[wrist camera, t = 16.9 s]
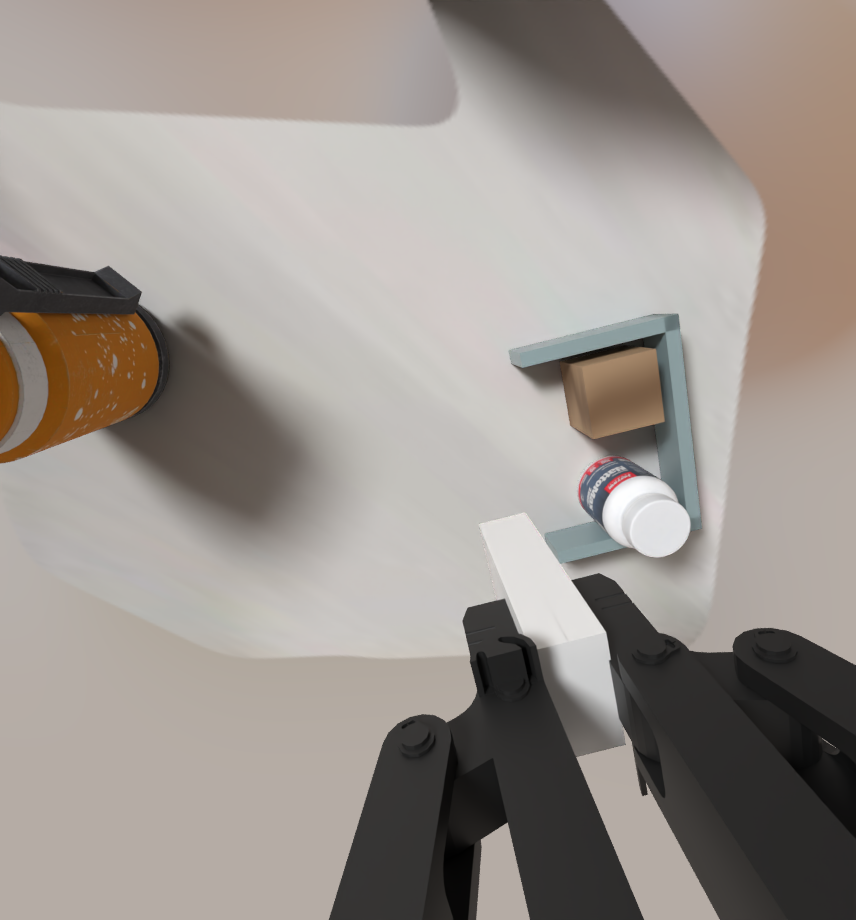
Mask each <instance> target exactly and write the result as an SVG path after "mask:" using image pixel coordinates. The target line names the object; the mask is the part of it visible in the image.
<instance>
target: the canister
mask: <svg viewBox="0 0 856 920" xmlns="http://www.w3.org/2000/svg"><path fill="white" fill-rule="evenodd" d="M141 293H142V292H141V291H140V290H139V289H137V288H136V287H135V286H134V285H132V284H131V283H130V282H128V281H127V280H126V279H125V278H123V277H122V276H121V275H120V274H118V273H117V272H116V271H114V270H113V269H112V268H111V267H109V266H107V267H105V268H103V269H100V270H98V271H96V272H89V271H83V270H76V269H70V268H64V267H57V266H51V265H45V264H38V263H32V262H25V261H23V260H22V259H19V258H16V259H15V258H13V257H7V256H1V255H0V463H6V462H12V461H15V460H18V459H21V458H24V457H27V456H29V455H32V454H35V453H37V452H40V451H43V450H45V449H48V448H51V447H53V446H56V445H59V444H61V443H64V442H67V441H69V440H72V439H75V438H77V437H80V436H83V435H85V434H88V433H91V432H93V431H96V430H99V429H101V428H104V427H107V426H109V425H112V424H115V423H117V422H120V421H123V420H125V419H128V418H131V417H133V416H136V415H138V414H140V413H142V412H144V411H145V410H146V409H148V408H149V407H150V406H152V405H153V403H154V402H155V401H156V400H157V399H158V398H159V396H160V395H161V393H162V391H163V390H164V387H165V385H166V382H167V378H168V373H169V355H168V349H167V346H166V342H165V340H164V337H163V335H162V333H161V331H160V329H159V328H158V326H157V324H156V323H155V321H154V320H153V319H152V318H151V317H150V315H149V314H148V313H147V312H146V311H145V310H143V309H142V308H141V307H140V306H139V305H138V302H139V299H140V296H141Z"/></svg>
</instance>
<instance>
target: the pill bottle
mask: <svg viewBox="0 0 856 920" xmlns="http://www.w3.org/2000/svg"><path fill="white" fill-rule="evenodd" d="M577 496H578V500H579V502H580V504H581V506H582V507H583V509H584V510H585V511H586V512H587V513H588V514H589V515H590V516H591V517H592V518H593V519H594V520H595V521H596V522H597V523H598V524H599V525H600V526H601V527H602V528H603V529H604V530H605V531H606V532H607V534H608V535H609V536H610V537H611V538H612V539H614V540H615V541H616V542H618V543H619V544H621V545H623V546H626V547H629V548H635V549H636V550H637V551H639V552H640V553H641V554H643V555H646V556H648V557H655V558H656V557H664V556H668V555H670V554H672V553H674V552H676V551H677V550H678V549H680V548H681V546H682V545H683V544H684V543H685V541H686V540H687V538H688V536H689V533H690V526H691V523H690V518H689V515H688V513H687V511H686V510H685V509H684V507H683V506H681V505H680V504H679V503H678V499H677V497H676V494H675V493H674V491H673V490H672V489H671V487H670V486H669V485H667V484H666V483H665V482H664V481H662V480H661V479H659V478H657V477H656V476H654V475H652V474H651V473H649V472H648V471H646V470H644V469H643V468H641V467H640V466H638V465H637V464H635V463H633V462H632V461H630V460H628V459H626V458H624V457H620V456H605V457H602V458H599V459H597V460H595V461H593V462H592V463H591V464H589V465H588V466H587V467H586V468H585V469H584V471H583V472H582V474H581V476H580V478H579V481H578V485H577Z"/></svg>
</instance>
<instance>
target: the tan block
mask: <svg viewBox="0 0 856 920" xmlns="http://www.w3.org/2000/svg"><path fill="white" fill-rule="evenodd" d="M560 367H561V373H562V379H563V385H564V391H565V397H566V403H567V409H568V415H569V421H570V426H572V427H574V428H575V429H577V430H579V431H580V432H582V433H584V434H585V435H587V436H589V437H590V438H592V439H597V438H601V437H605V436H609V435H613V434H617V433H621V432H625V431H629V430H633V429H637V428H641V427H645V426H649V425H653V424H658V423H662V422H665V420H664V411H663V403H662V395H661V386H660V378H659V370H658V361H657V353H656V349H653V348H644V347H635V346H626V345H624V346H620V347H616V348H612V349H608V350H604V351H599V352H595V353H591V354H587V355H583V356H579V357H575V358H571V359H567V360H563V361H560Z"/></svg>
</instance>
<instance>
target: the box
mask: <svg viewBox="0 0 856 920" xmlns="http://www.w3.org/2000/svg"><path fill="white" fill-rule="evenodd" d="M640 338H643V340H644V348H653V349H656V353H657V361H658V370H659V378H660V386H661V395H662V403H663V411H664V420H665V422H662V423H658V424H654V426H655V434H656V441H657V449H658V457H659V465H660V473H661V480H662V481H664V482H665V483H666V484H667V485H669V486H670V487H671V489H672V490H673V491H674V493H675V494H676V497H677V499H678V503H679V504H680V505H681V506H683V507H684V509H685V510H686V511H687V513H688V515H689V518H690V523H691V526H690V531H694V530H698V529H702V525H701V516H700V507H699V498H698V489H697V480H696V470H695V461H694V452H693V443H692V434H691V425H690V416H689V407H688V397H687V388H686V379H685V370H684V361H683V352H682V343H681V333H680V324H679V315H678V314H653V315H649V316H644V317H640V318H636V319H632V320H628V321H624V322H620V323H616V324H612V325H608V326H604V327H600V328H596V329H592V330H588V331H584V332H580V333H576V334H572V335H568V336H564V337H560V338H556V339H552V340H548V341H544V342H540V343H536V344H532V345H528V346H524V347H520V348H516V349H512V350H509V354H510V360H511V364H514V365H516V366H519V367H522V368H524V367H528V366H532V365H536V364H540V363H544V362H548V361H552V360H556V359H560V358H564V357H568V356H572V355H576V354H580V353H584V352H588V351H592V350H596V349H600V348H604V347H608V346H612V345H616V344H620V343H624V342H628V341H632V340H636V339H640ZM545 539H546V544H547V545H548V547H549V548H550V550H551V551H552V553H553V554H554V556H555V557H556V559H557V560H558V562H559V563H560V564H562V563H566V562H570V561H574V560H578V559H582V558H586V557H590V556H594V555H598V554H602V553H606V552H610V551H614V550H618V549H622V548H626V546H623V545H621V544H619V543H618V542H616V541H615V540H614V539H612V538H611V537H610V536H609V535H608V534H607V532H606V531H605V530H604V529H603V528H602V527H601V526H600V525H599V524H598V523H597V522H596V521H594V522H590V523H586V524H582V525H578V526H574V527H570V528H566V529H562V530H558V531H554V532H550V533H546V534H545Z"/></svg>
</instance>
